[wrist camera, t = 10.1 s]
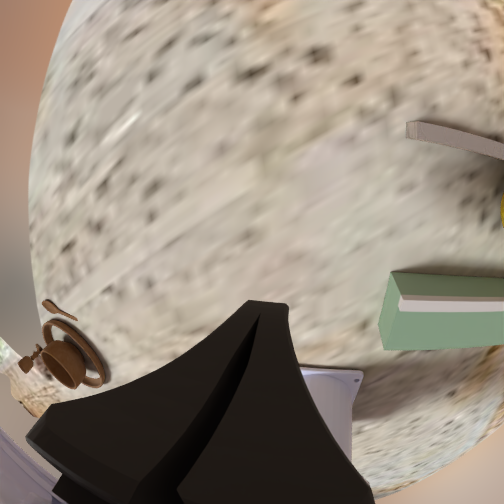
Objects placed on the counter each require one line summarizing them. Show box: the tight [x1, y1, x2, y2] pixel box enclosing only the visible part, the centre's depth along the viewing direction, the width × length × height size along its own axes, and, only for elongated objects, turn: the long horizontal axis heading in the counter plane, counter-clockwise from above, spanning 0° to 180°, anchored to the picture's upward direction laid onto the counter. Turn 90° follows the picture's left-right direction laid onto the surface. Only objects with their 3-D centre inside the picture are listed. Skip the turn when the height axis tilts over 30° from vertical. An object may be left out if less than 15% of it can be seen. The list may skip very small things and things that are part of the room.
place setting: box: [18, 300, 105, 389], centre depth 30 cm, size 18×20×6 cm
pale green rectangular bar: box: [378, 272, 504, 350], centre depth 15 cm, size 4×16×4 cm, turn 91°
